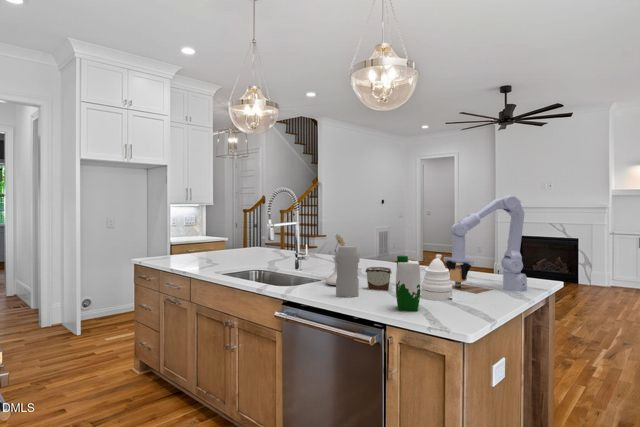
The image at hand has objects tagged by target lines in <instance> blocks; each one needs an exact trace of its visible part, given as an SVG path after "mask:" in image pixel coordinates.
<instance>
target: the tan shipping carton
mask: <svg viewBox="0 0 640 427" xmlns="http://www.w3.org/2000/svg"><path fill="white" fill-rule="evenodd" d="M449 277H450V281H451V282H452V281H453V282H455V281H457V282H461V283H462V282H467V281H468V278H467V277H466V280H462V270H461V268H456V267H455V269H450V273H449Z"/></svg>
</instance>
